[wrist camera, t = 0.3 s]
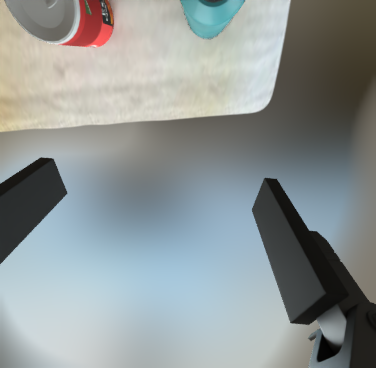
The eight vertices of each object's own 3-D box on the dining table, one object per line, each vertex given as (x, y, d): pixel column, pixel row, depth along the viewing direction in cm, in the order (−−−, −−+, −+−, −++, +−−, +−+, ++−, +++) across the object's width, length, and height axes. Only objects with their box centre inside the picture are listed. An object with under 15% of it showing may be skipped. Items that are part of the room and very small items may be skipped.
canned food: (125, 22, 28) (91, 5, 19) (94, 59, 31) (52, 60, 22) (83, -38, 25) (17, -92, 16) (53, 11, 28) (-16, -11, 19)
